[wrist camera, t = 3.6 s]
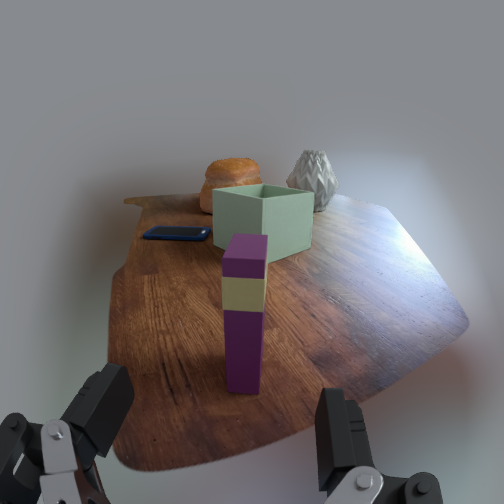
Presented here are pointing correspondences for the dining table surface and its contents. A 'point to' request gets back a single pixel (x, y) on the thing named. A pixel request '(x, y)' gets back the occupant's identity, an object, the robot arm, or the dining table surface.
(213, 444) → the dining table surface
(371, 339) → the dining table surface
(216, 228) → the open storage box
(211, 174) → the bread
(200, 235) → the cell phone
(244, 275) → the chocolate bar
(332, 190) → the vase
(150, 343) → the dining table surface
